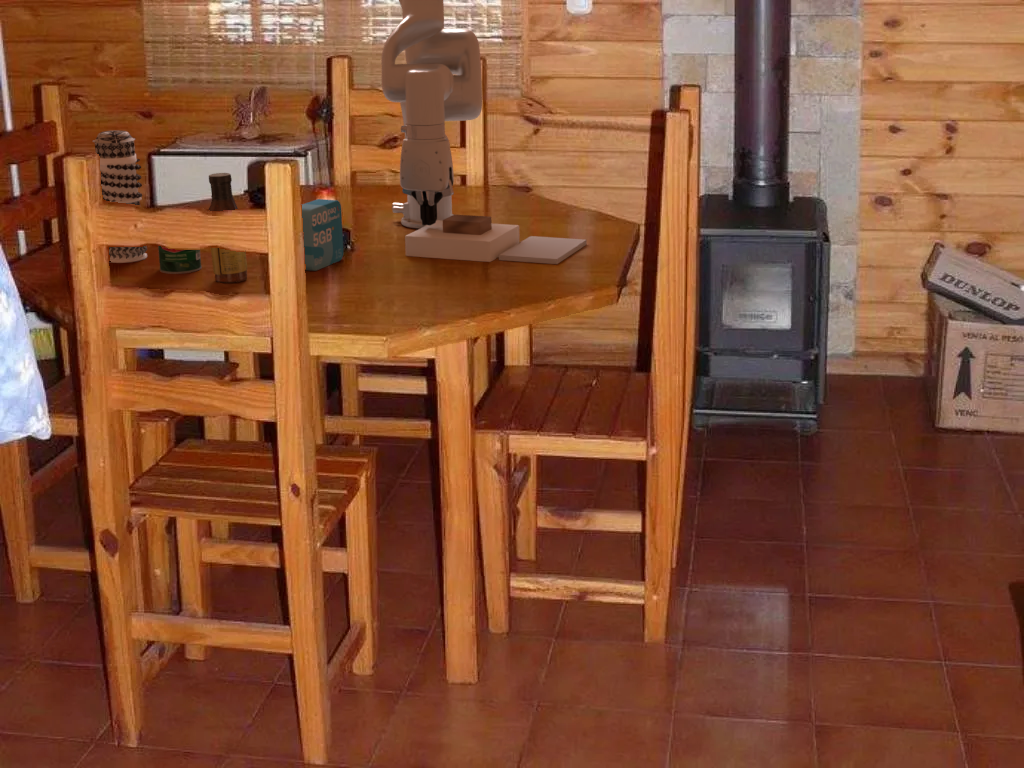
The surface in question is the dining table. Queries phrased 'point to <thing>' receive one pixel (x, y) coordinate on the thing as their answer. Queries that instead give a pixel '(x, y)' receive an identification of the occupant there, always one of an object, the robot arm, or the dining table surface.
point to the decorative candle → (120, 182)
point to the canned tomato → (179, 260)
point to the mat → (543, 250)
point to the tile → (467, 224)
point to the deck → (461, 243)
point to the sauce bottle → (224, 261)
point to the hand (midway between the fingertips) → (429, 223)
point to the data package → (322, 233)
